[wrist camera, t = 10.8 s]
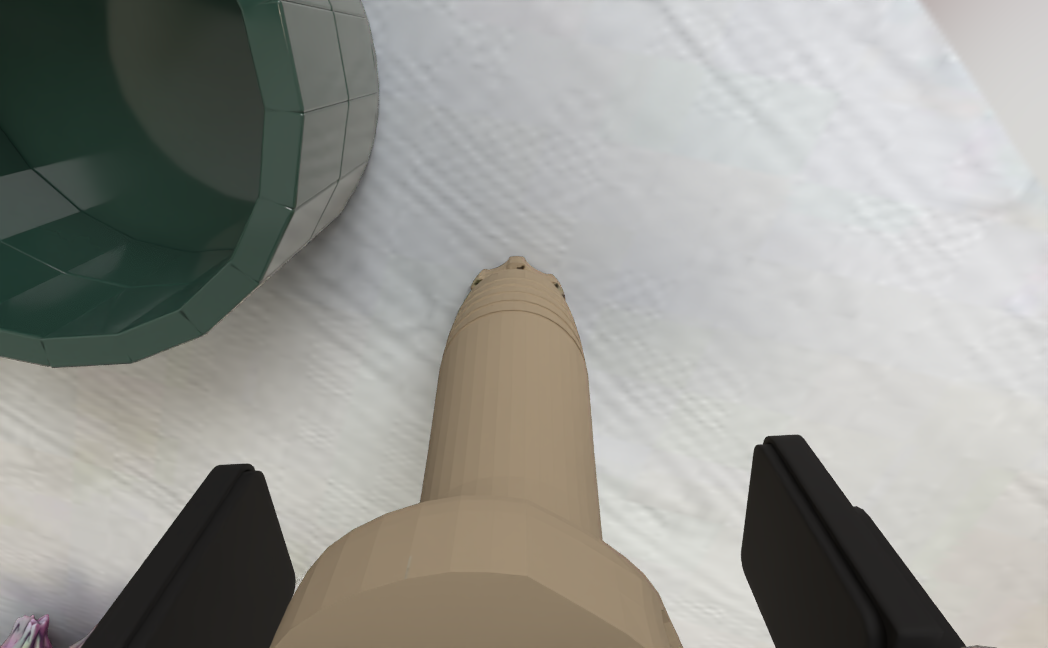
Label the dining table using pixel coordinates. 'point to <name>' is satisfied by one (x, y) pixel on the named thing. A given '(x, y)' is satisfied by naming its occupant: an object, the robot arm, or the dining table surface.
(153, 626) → the robot arm
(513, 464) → the handle
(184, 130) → the pot
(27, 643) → the flower
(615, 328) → the dining table surface
